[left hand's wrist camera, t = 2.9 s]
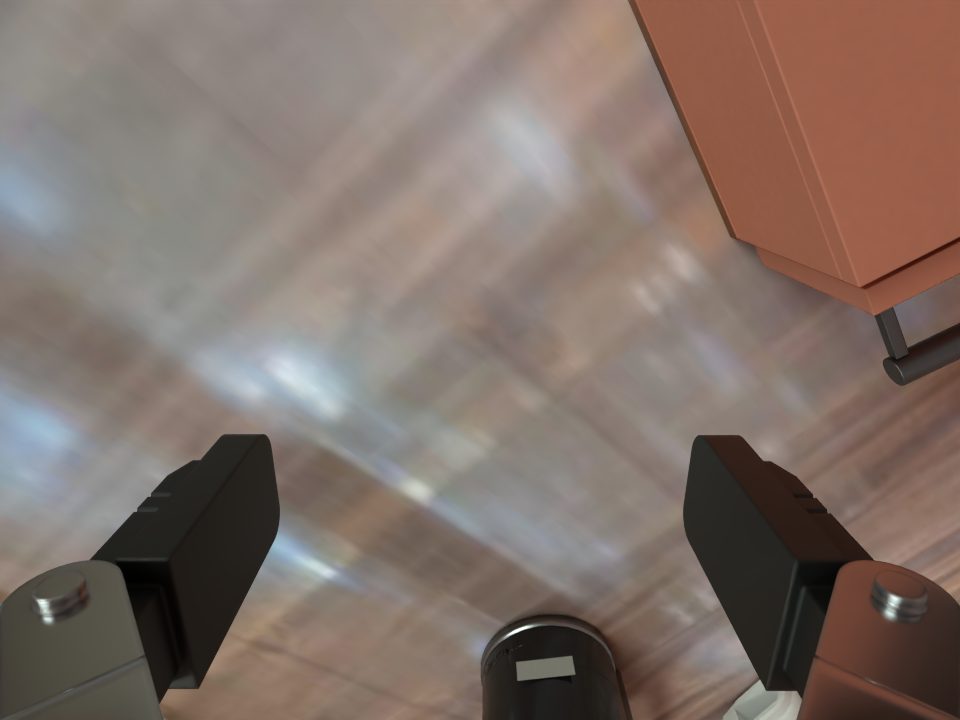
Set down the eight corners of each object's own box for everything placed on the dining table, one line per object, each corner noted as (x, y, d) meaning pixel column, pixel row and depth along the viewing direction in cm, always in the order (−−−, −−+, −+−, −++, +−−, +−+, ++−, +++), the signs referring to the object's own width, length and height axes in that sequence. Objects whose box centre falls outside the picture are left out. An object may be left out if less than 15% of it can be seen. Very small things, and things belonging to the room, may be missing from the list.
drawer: (990, 263, 31) (1191, 314, 22) (801, 357, 33) (918, 438, 24) (843, -258, 23) (1060, -491, 15) (609, -98, 25) (679, -221, 17)
